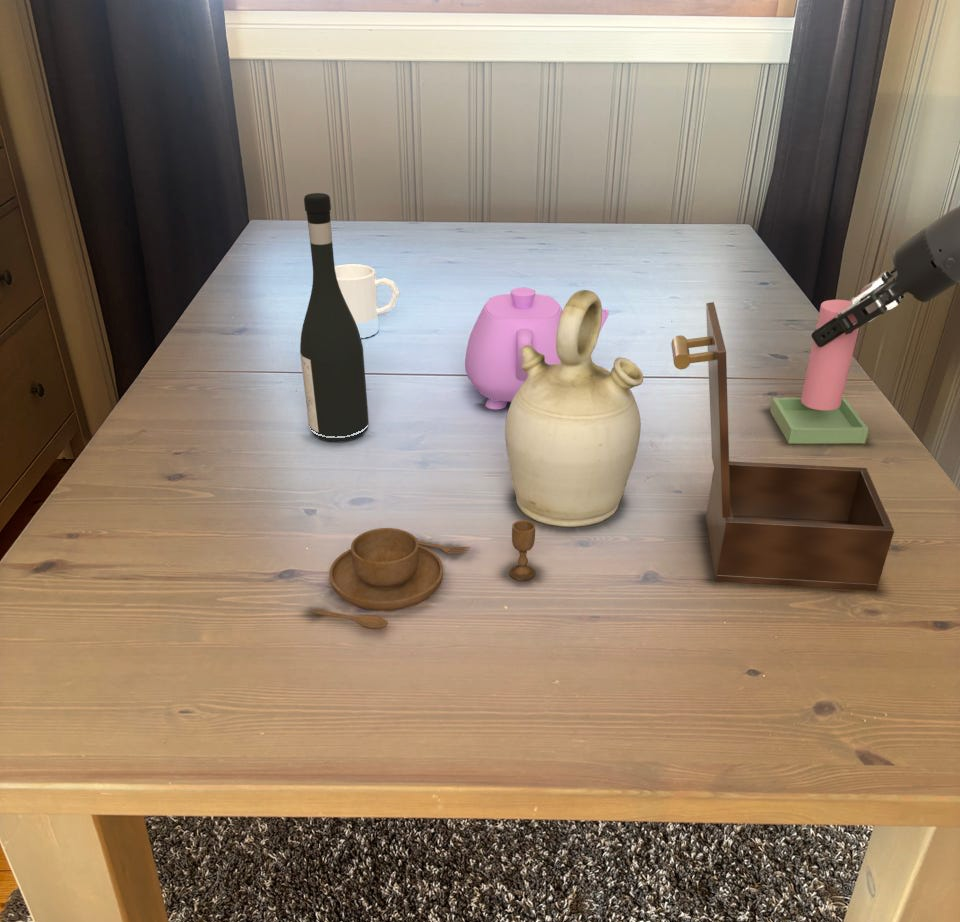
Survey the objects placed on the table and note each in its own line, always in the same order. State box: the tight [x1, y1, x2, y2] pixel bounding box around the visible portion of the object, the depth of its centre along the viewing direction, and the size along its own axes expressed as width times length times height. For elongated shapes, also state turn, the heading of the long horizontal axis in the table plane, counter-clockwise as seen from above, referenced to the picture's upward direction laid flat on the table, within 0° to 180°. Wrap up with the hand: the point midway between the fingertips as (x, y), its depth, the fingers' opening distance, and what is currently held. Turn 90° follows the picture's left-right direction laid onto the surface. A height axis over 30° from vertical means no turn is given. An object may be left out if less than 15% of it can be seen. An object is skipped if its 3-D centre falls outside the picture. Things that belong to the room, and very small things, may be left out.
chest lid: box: [670, 301, 731, 518], centre depth 99 cm, size 17×14×5 cm
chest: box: [705, 460, 895, 591], centre depth 105 cm, size 17×14×7 cm
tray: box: [769, 396, 870, 445], centre depth 132 cm, size 10×10×2 cm
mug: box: [334, 263, 401, 324], centre depth 159 cm, size 8×12×10 cm
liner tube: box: [800, 299, 860, 411], centre depth 127 cm, size 5×5×13 cm
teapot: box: [464, 287, 610, 410], centre depth 136 cm, size 20×20×15 cm
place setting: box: [310, 519, 536, 629], centre depth 100 cm, size 18×20×6 cm
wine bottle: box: [299, 192, 369, 443], centre depth 123 cm, size 8×8×30 cm
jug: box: [504, 289, 644, 528], centre depth 109 cm, size 15×16×25 cm
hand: (822, 333), depth 126 cm, fingers closed on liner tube, 5 cm apart
